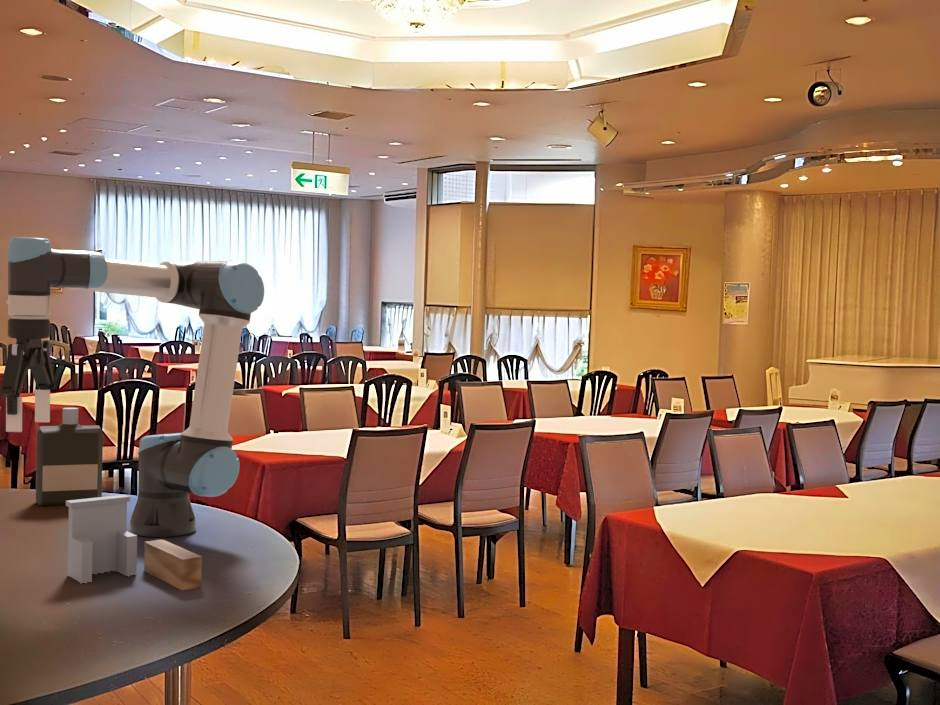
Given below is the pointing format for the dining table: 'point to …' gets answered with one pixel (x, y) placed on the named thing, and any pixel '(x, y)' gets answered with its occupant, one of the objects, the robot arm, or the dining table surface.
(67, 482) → the bottle
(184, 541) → the dining table surface
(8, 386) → the robot arm
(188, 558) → the rail
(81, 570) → the grey u-shaped bracket
